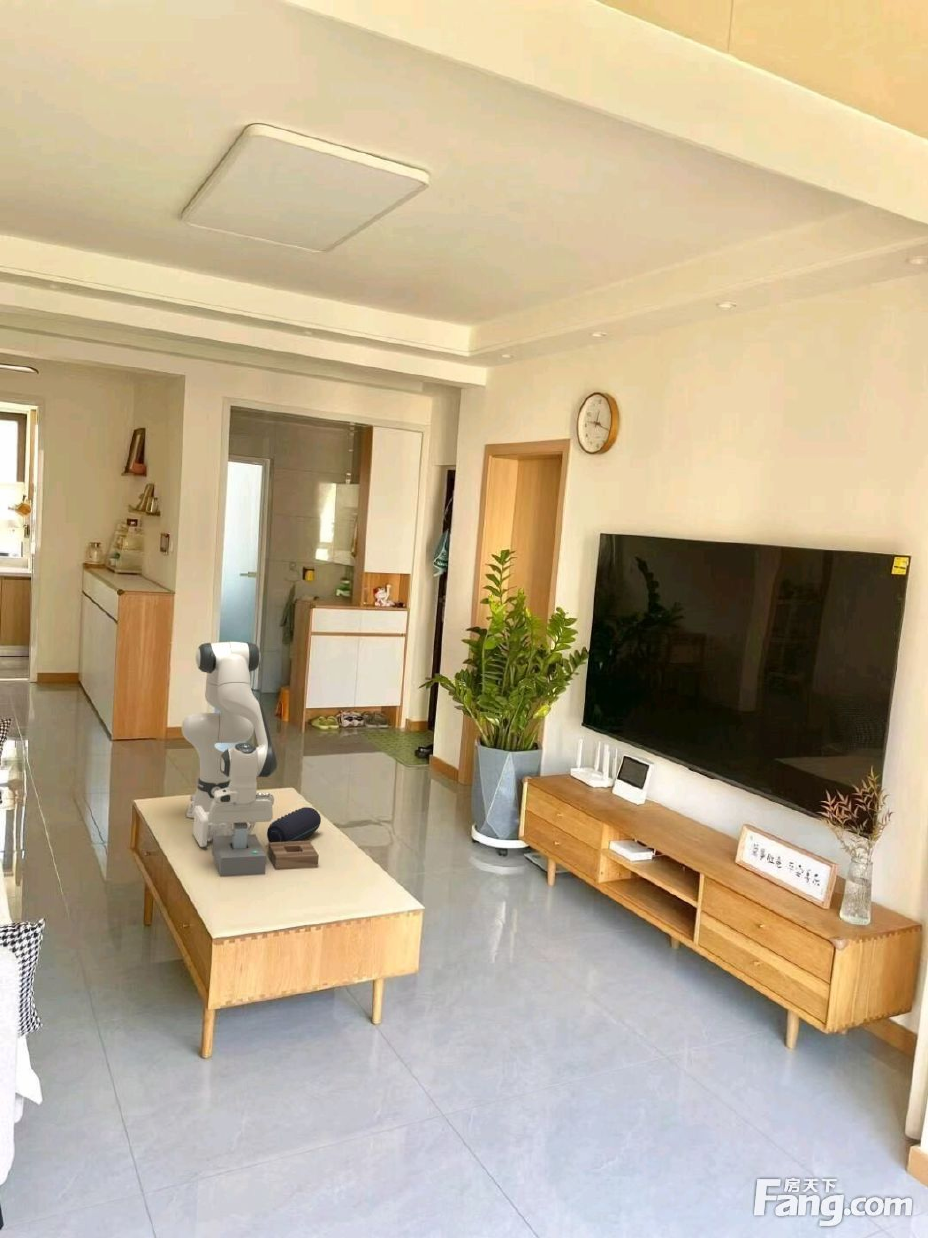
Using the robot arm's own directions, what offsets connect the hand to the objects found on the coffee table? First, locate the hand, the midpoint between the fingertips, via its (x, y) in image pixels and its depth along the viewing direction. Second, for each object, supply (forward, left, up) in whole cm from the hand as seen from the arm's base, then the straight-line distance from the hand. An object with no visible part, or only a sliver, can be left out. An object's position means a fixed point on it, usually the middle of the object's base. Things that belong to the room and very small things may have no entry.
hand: (239, 835), depth 314 cm
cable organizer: (-21, -6, -10) cm, 24 cm away
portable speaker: (-19, +22, -10) cm, 30 cm away
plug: (0, 0, -6) cm, 6 cm away
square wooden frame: (0, +18, -10) cm, 20 cm away
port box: (0, 0, -10) cm, 10 cm away
